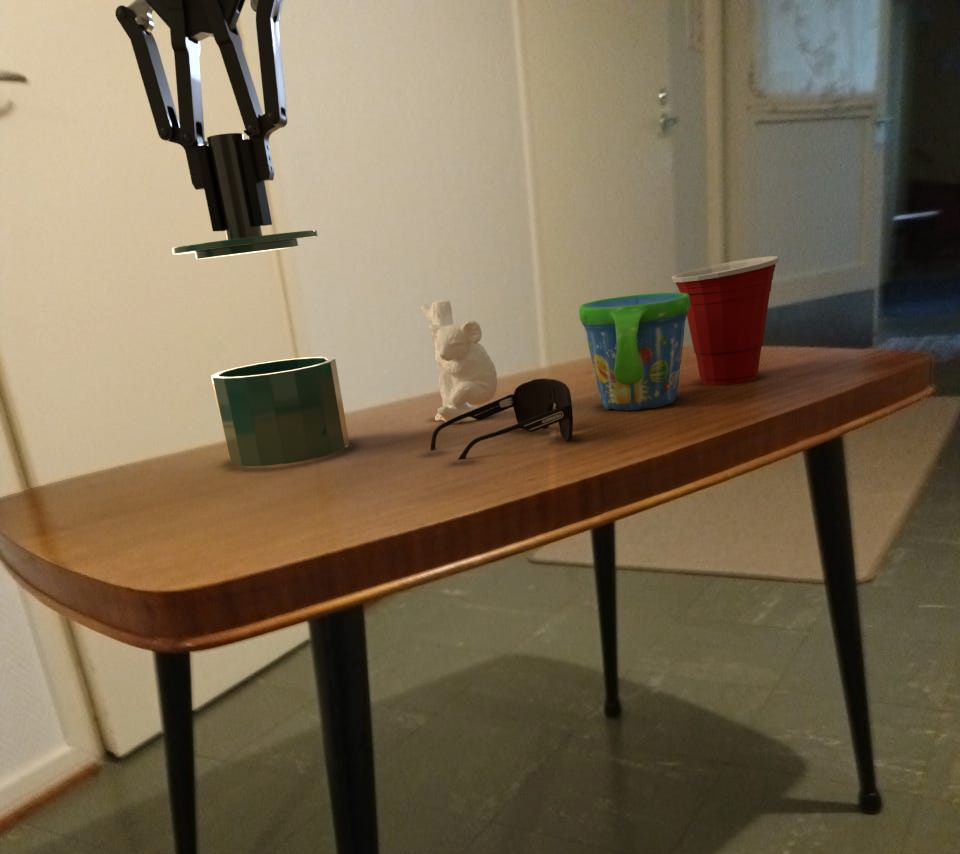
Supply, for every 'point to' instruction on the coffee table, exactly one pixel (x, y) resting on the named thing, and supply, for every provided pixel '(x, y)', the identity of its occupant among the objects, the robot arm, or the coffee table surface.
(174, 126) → the robot arm
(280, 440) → the tin
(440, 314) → the koala figurine
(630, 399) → the snack cup
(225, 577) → the coffee table surface
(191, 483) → the coffee table surface
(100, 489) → the coffee table surface
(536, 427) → the sunglasses
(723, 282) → the plastic cup
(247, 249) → the lid
